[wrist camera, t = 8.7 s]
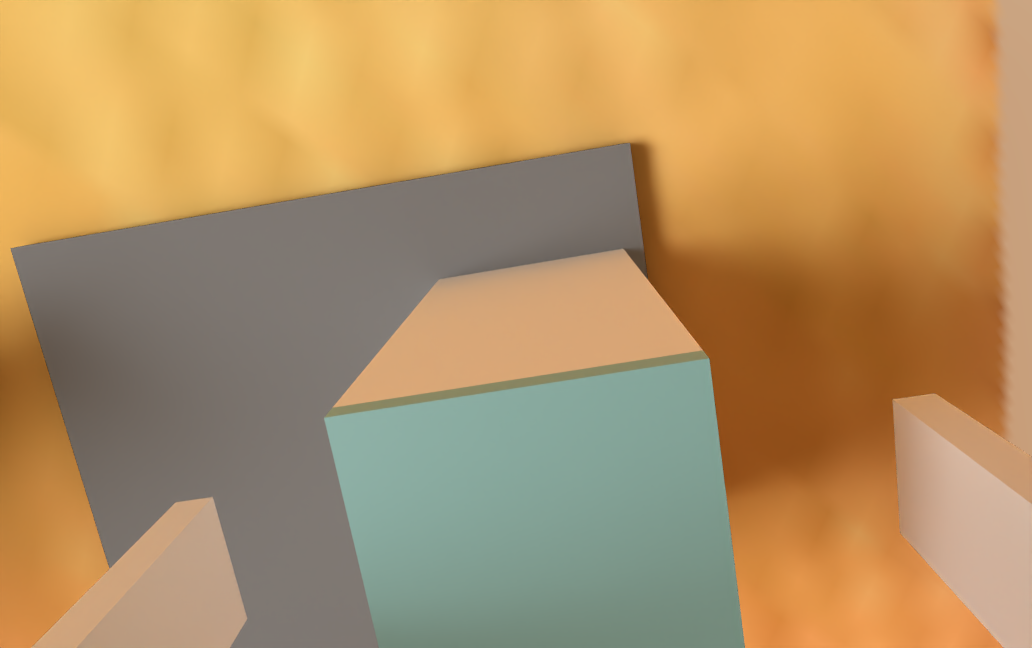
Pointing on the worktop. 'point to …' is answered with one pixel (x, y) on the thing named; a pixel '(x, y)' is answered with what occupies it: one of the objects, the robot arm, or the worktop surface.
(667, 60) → the worktop surface
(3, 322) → the worktop surface
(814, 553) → the worktop surface
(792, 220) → the worktop surface
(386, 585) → the cream rectangular block
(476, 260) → the mat
